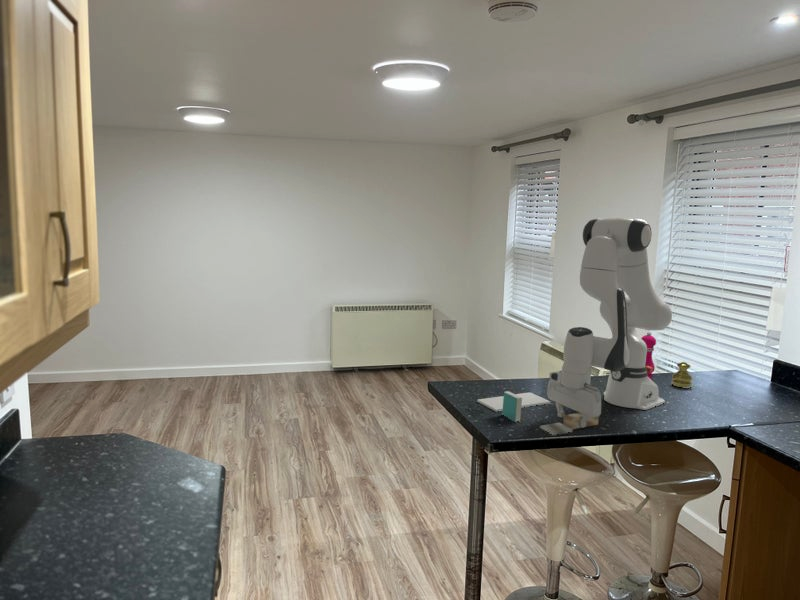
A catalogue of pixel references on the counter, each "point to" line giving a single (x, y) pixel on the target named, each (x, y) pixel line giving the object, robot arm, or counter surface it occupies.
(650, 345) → the pepper mill
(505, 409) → the tile
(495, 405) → the board
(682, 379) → the gold ridged bell shape
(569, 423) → the wooden handled scraper
